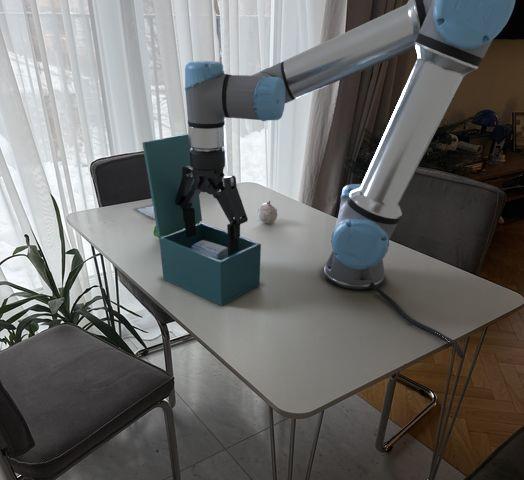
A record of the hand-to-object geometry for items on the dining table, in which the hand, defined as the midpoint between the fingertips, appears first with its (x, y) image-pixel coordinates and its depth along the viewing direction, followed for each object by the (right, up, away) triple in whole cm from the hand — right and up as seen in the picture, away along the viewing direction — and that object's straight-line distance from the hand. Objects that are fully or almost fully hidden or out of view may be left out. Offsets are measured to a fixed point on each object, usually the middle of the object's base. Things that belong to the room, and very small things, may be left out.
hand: (211, 243), depth 111 cm
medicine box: (-1, -8, +6) cm, 10 cm away
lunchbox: (-1, -8, +6) cm, 10 cm away
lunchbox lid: (-8, +13, -1) cm, 16 cm away
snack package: (-12, +8, +28) cm, 31 cm away
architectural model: (-21, +22, +47) cm, 55 cm away
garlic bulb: (+14, +16, +41) cm, 46 cm away
